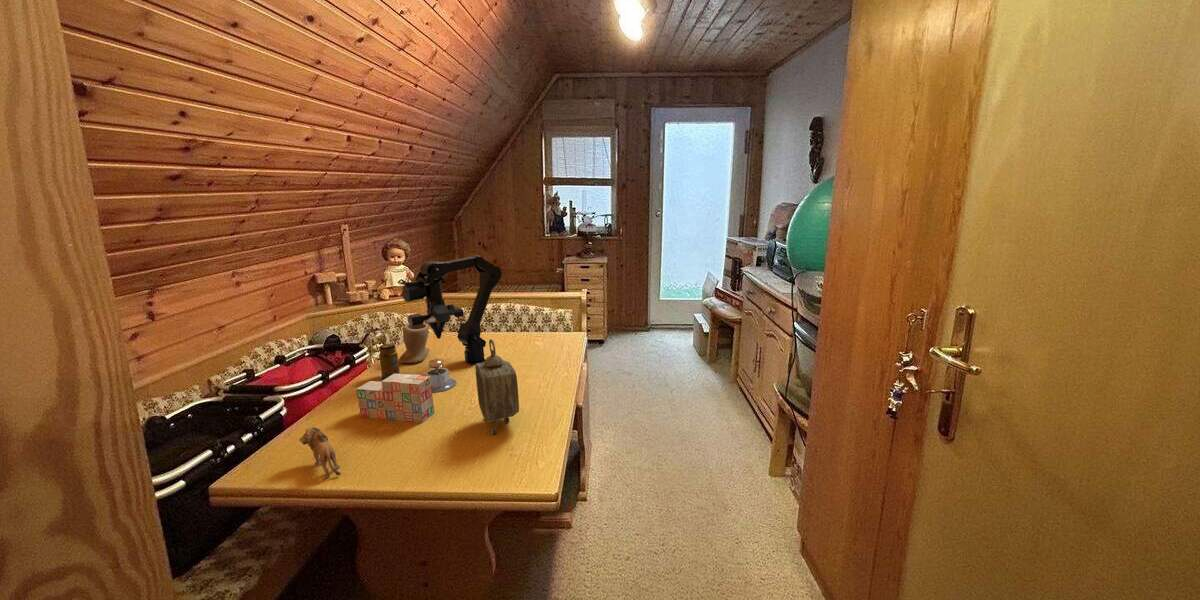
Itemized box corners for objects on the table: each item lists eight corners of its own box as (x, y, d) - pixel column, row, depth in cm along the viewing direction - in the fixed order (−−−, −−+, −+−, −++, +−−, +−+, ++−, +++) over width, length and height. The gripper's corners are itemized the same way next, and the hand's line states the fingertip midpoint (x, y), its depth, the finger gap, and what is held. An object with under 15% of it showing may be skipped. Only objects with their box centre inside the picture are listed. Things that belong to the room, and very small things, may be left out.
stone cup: (427, 364, 186) (422, 327, 182) (396, 366, 185) (390, 328, 182) (437, 351, 200) (433, 317, 197) (408, 353, 200) (404, 318, 196)
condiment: (398, 371, 179) (394, 341, 176) (405, 377, 173) (401, 346, 170) (377, 376, 175) (373, 345, 172) (384, 383, 168) (379, 351, 165)
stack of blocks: (359, 417, 143) (353, 379, 140) (374, 408, 148) (368, 371, 146) (423, 423, 138) (418, 383, 135) (435, 413, 144) (430, 375, 141)
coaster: (448, 376, 173) (448, 375, 172) (462, 385, 163) (461, 384, 163) (415, 385, 165) (415, 384, 165) (427, 395, 156) (427, 394, 156)
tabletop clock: (479, 416, 140) (472, 335, 135) (510, 410, 144) (503, 331, 138) (488, 439, 127) (480, 350, 122) (521, 431, 131) (515, 344, 125)
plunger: (442, 379, 167) (440, 357, 166) (447, 383, 164) (445, 361, 162) (428, 383, 164) (426, 361, 163) (433, 387, 161) (431, 364, 159)
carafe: (444, 378, 169) (443, 366, 168) (453, 384, 164) (451, 372, 163) (415, 386, 163) (414, 373, 162) (423, 393, 157) (421, 380, 156)
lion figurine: (301, 462, 119) (295, 430, 117) (323, 453, 123) (318, 421, 121) (329, 482, 110) (323, 447, 108) (352, 471, 114) (346, 437, 112)
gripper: (415, 304, 159) (420, 349, 162) (468, 296, 170) (472, 337, 174) (404, 299, 167) (410, 342, 171) (455, 291, 179) (459, 331, 182)
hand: (438, 338), depth 174 cm, fingers closed
